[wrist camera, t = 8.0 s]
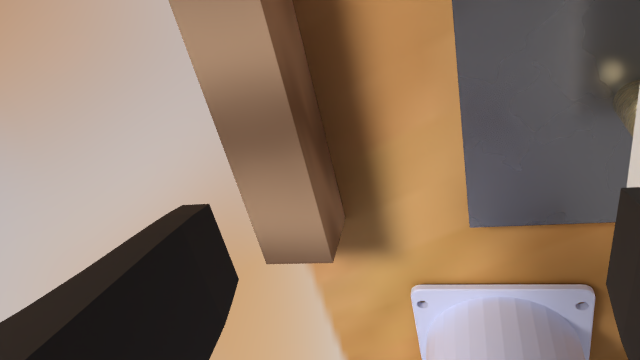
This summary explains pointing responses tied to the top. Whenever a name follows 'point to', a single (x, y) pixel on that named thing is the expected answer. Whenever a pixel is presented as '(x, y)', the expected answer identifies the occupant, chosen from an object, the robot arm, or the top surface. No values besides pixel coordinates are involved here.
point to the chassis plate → (546, 107)
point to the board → (635, 152)
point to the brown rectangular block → (267, 122)
